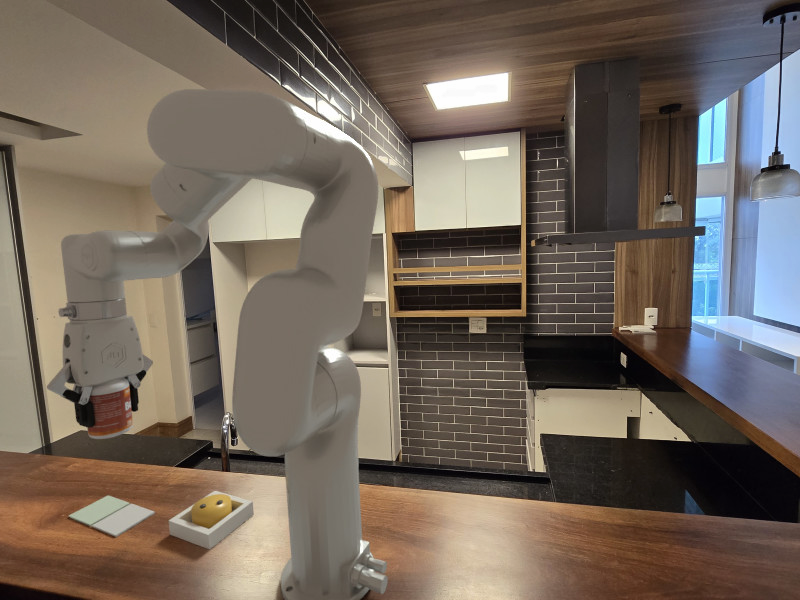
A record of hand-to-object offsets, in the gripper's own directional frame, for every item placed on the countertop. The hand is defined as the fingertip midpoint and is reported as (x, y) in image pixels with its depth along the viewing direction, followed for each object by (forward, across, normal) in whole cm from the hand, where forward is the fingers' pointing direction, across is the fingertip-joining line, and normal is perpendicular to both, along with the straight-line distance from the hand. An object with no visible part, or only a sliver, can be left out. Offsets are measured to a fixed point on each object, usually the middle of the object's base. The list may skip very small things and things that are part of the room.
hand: (109, 416), depth 68 cm
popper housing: (+18, +5, -16) cm, 25 cm away
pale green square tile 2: (+18, 0, +6) cm, 19 cm away
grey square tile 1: (+18, 0, -1) cm, 18 cm away
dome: (+18, +5, -16) cm, 25 cm away
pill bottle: (+3, 0, 0) cm, 3 cm away
